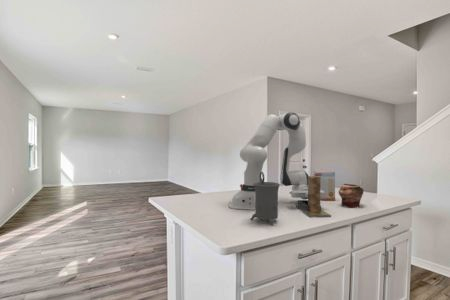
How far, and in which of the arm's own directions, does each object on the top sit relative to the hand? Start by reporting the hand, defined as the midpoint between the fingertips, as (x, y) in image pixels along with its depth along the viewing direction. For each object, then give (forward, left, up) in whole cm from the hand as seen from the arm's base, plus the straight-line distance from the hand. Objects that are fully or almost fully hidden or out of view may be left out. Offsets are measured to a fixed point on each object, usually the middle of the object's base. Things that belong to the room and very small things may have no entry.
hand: (312, 196), depth 148 cm
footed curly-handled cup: (-31, -18, -9) cm, 37 cm away
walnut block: (0, -3, -8) cm, 8 cm away
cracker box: (+21, +33, -9) cm, 40 cm away
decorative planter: (+32, +15, -9) cm, 37 cm away
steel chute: (0, +1, -9) cm, 9 cm away
